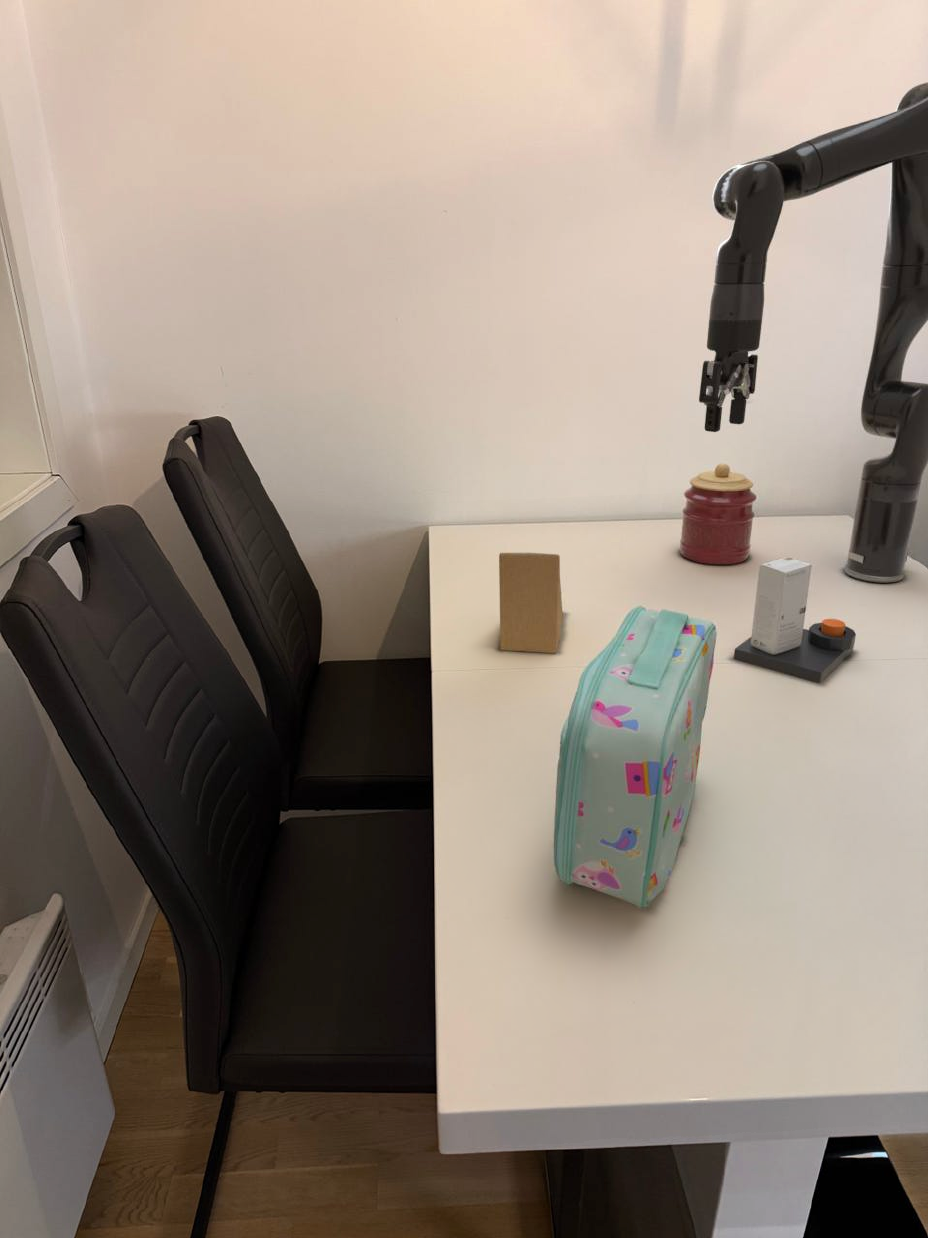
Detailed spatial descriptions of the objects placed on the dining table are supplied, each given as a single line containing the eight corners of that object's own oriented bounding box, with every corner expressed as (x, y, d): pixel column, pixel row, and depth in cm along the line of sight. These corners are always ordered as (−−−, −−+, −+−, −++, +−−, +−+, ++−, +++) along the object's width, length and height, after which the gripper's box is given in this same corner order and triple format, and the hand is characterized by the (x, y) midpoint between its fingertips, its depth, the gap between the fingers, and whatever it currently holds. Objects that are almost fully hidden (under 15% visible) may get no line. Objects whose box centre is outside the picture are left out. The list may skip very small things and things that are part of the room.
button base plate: (771, 630, 127) (774, 608, 126) (857, 651, 120) (861, 629, 118) (733, 659, 118) (736, 637, 117) (823, 685, 110) (827, 661, 109)
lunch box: (612, 752, 96) (622, 576, 88) (704, 770, 92) (724, 588, 84) (540, 904, 73) (545, 686, 65) (659, 936, 69) (680, 709, 61)
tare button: (825, 627, 120) (826, 616, 120) (846, 632, 118) (848, 622, 118) (817, 633, 118) (819, 623, 117) (839, 638, 116) (841, 628, 116)
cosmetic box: (774, 656, 115) (786, 572, 110) (747, 645, 118) (757, 564, 114) (802, 645, 118) (815, 563, 113) (776, 635, 121) (786, 555, 117)
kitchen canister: (757, 551, 162) (768, 460, 156) (738, 570, 152) (749, 474, 146) (691, 541, 169) (699, 453, 162) (669, 559, 159) (676, 466, 152)
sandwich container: (564, 613, 135) (567, 523, 129) (557, 653, 121) (560, 554, 115) (511, 610, 136) (512, 521, 130) (498, 650, 122) (498, 552, 117)
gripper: (739, 319, 116) (727, 437, 123) (779, 314, 126) (766, 423, 133) (689, 318, 121) (680, 431, 127) (732, 313, 131) (722, 418, 137)
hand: (724, 427), depth 130 cm, fingers open, 8 cm apart
